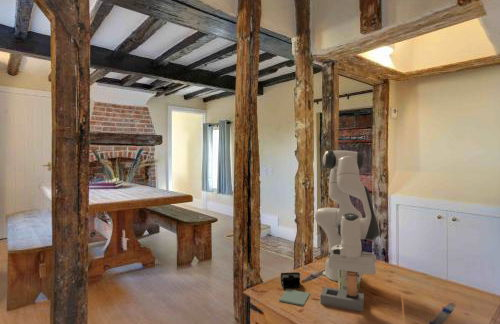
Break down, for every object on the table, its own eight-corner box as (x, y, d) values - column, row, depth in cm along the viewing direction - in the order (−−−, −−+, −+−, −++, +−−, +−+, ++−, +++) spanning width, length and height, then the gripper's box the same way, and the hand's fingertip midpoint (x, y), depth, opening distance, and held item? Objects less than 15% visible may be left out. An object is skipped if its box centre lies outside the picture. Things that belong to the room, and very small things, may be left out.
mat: (287, 290, 149) (287, 288, 149) (310, 294, 143) (310, 293, 143) (279, 301, 138) (279, 299, 138) (303, 306, 133) (303, 304, 133)
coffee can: (357, 287, 150) (357, 260, 150) (361, 296, 140) (360, 268, 140) (337, 286, 152) (336, 259, 152) (339, 295, 142) (338, 267, 142)
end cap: (299, 282, 158) (298, 270, 157) (301, 288, 150) (300, 275, 150) (280, 283, 158) (280, 270, 158) (282, 289, 151) (281, 276, 150)
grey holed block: (324, 296, 141) (324, 286, 141) (364, 304, 133) (363, 293, 133) (320, 305, 133) (320, 294, 133) (362, 313, 125) (362, 302, 125)
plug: (347, 290, 134) (347, 269, 134) (358, 292, 132) (357, 270, 132) (346, 295, 130) (345, 273, 130) (356, 297, 128) (356, 274, 128)
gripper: (376, 250, 129) (377, 281, 129) (329, 245, 138) (330, 274, 138) (375, 255, 123) (376, 287, 123) (327, 249, 132) (328, 279, 132)
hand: (351, 280), depth 131 cm, fingers closed on plug, 4 cm apart
